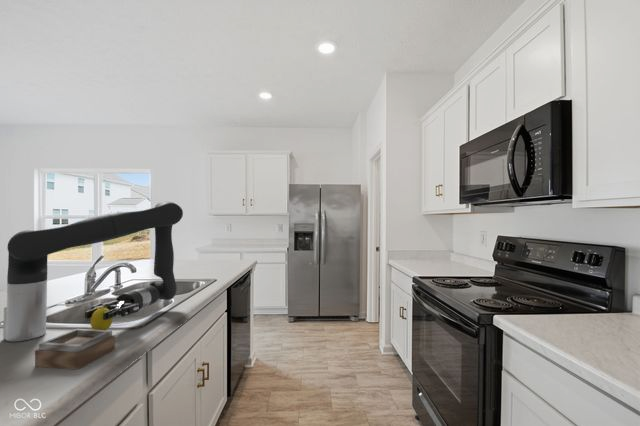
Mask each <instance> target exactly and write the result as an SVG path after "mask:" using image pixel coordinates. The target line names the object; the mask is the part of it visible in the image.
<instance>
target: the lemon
mask: <svg viewBox="0 0 640 426" xmlns="http://www.w3.org/2000/svg"><path fill="white" fill-rule="evenodd" d="M107 311H109V309H107V308H104V307H101V308H100V309H97V310H96V311H95V312H94V313H93V314H92V317H91V318H90V327H91V329H92V330H109V328H110V327H111V326H112V323H113V317H112V318H110V319H107V320H103V313H104V312H107Z"/></svg>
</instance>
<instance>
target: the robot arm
mask: <svg viewBox="0 0 640 426" xmlns="http://www.w3.org/2000/svg"><path fill="white" fill-rule="evenodd" d="M183 214H184V211H183V208H182V207H181V206H180V205H178V204H177V203H175V202H172V201H166V200H165V201H160V202H158V203H156V205H154V207H151V208H146V209H144V210H134V211H133V210H131V211H119V212H117V211H116V212H111V213H106V214H101V215H95V216H92V217H88V218H85V219H82V220H77V221H76V222H73V223H69V224H67V225H64V226H59V227H54V228H52V227H51V228H45V229H38V230H34V229H32V230H31V229H28V230H27V229H26V230H22V231H19V232H17V233H16V234H14V235H13V236H12V237H10V239H9V241H8V243H7V252H8V256H7V257H8V259H7V260H8V262H7V276H6V277H7V278H6V279H7V280H6V281H7V283H6V306H5V307H4V308H3V328H2V329H3V333H2V334H3V335H2V336H3V337H2V339H3V340H5V341H6V342H13V343H14V342H25V341H29V340H34V339H38V338H39V337H42V336H45V334H46V333H47V311H48V310H47V300H48V299H47V298H48V256H49V255H51V254H54V253H57V252H60V251H63V250H66V249H70V248H75V247H76V248H77V247H83V246H88V245H89V246H90V245H95V244H98V243H102V242H107V241H112V240H115V239H119V238H123V237H126V236H129V235H132V234H136V233H139V232H142V231H145V230H149V229H154V240H155V241H154V243H155V246H154V263H153V275H154V276H156V277H159V278H160V279H161V280H154V281H151V282H150V283H148V284H147V285H146V286H144V287H142V288H136V289H133V290H129V291H127V292H124V293H121V294H119V295H118V296H117V297H116V299H115V300H111V301H109V302H105V301H100V302H98V303H95V304H94V305H91V306H90V309H89V310H87V311H85V312H84V319H86V320H88V319H91V317H92V314H93V313H94V312H95V311H96V310H97V309H100V308H101V307H104V308H107V309H109V311H107V312H104V313H103V320H107V319H110V318H112V319H113V318H115V317H116V318H117V317H120V316H121V317H126V316H129V315H132V314H135V313H138V312H139V311H141V310H143V309H146V307H148V306H151V305H153V304H155V303H156V302H158V300H162V301H163V300H165V301H170V300H172V299H174V298H175V296H176V294H177V290H178V287H177V283H176V279H175V274H174V263H175V262H174V261H175V254H174V246H173V239H172V238H173V237H172V234H173V233H172V232H173V226H174V225H176V224H178V223H179V222H180V221H181V219H182V218H183Z"/></svg>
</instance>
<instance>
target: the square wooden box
mask: <svg viewBox="0 0 640 426" xmlns="http://www.w3.org/2000/svg"><path fill="white" fill-rule="evenodd" d="M115 339H116V335H114V334H113V330H109V329H107V330H93V329H92V328H91V329H89V328H86V329H85V328H75V329H72V330H70V331H68V332H65V333H63V334H60V335H58V336H56V337H55V336H54V337H53V338H49V339H47V340H46V341H42V342H40V343H38V349H35V351H34V367H38V368H39V367H40V368H55V369H67V370H80V369H81V368H83V367H85V366H87V365H88V364H91V363H92V362H94V361H96V360H98V359H100V358H102V357H104V356H105V355H107V354H109V353H110V352H112V351H114V350H115V347H116V343H115V342H116V340H115Z"/></svg>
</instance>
